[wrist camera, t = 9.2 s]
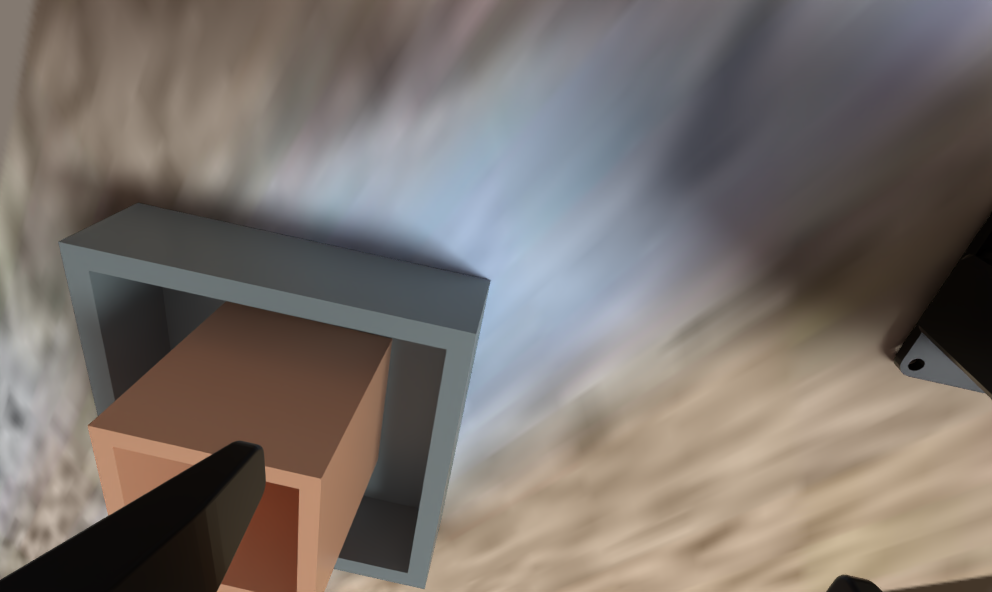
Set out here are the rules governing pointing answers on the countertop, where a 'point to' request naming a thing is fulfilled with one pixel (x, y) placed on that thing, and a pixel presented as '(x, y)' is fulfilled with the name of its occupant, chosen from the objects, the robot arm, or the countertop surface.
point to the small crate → (259, 433)
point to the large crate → (305, 294)
